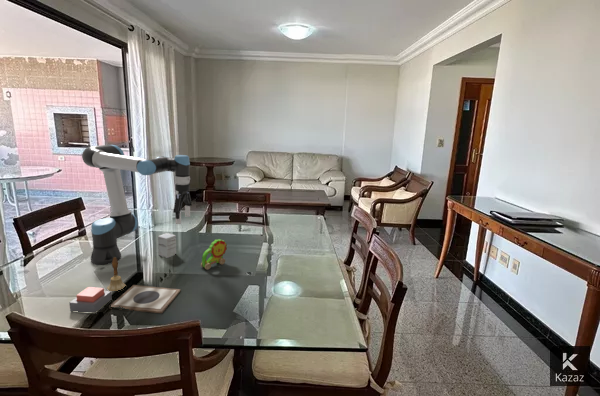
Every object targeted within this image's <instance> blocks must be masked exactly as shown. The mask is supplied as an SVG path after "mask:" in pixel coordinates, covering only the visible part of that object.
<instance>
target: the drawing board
mask: <svg viewBox="0 0 600 396" xmlns="http://www.w3.org/2000/svg"><path fill="white" fill-rule="evenodd" d="M181 290H182V289H179V288H169V287H158V286H147V285H139V284H138V285H136V284H132V286H131V287H129V288H128V289H127V290H125V292H124V293H122V294H121V295H120V296H119V297H118V298H116V300H114V301H112V303H111V304H110V305H111V307H119V306H120V307H121V308H122V307H123V308H125V309H129V310H128V311H133V310H134V311H135V312H142V313H144V312H145V313H156V314H163V313H164V312H165V310H166V309H167V308H168V307H169V306H170V304H172V302H173V301H174V299H176V297H177V296H178V295H179V294H180V292H182V291H181ZM168 305H169V306H168Z"/></svg>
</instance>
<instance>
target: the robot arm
mask: <svg viewBox="0 0 600 396" xmlns="http://www.w3.org/2000/svg"><path fill="white" fill-rule="evenodd" d="M81 159H82V161H83V163H84V164H85V165H86V166H89V167H91V168H98V170H99V171H101V173H103V178H104V183H105V187H106V192H107V196H108V201H109V206H110V210H111V213H110V214H109V217H104V218H100V219H97V220H95V221H93V222H92V223H91V228H90V229H91V230H90V231H91V232H90V233H91V239H92V248H93V250H92V252H91V256H90V263H91V264H93V265H96V266H106V265H112V261H113V258H114V257H116V258H117V260H118V262H119V261H120V260H121V259H122V253H121V251H120V249H119V247H118V241H117V239H119V238H122V237H123V236H126V235H129V234H131V233H132V232H134V231H135V230H137V228H138V226H139V225H138V224H139V222H138V217H136V216H135V214H134V213H132V211H131V210H130V209H129V208H128V202H127V199H126V194H125V189H124V184H123V179H122V173H121V170H122V171H127V172H133V173H134V172H135V173H139V174H140V175H142V176H151V175H155V174H159V173H164V172H170V173H171V172H173V173H174V182H175V186H174V189H175V191H176V192H178V193H177V194H175V200H174V206H173V211H172V212H173V213H175V214H174V216H175V225H182V212H181V210H182V206H183V203H184V204H185V205H184V217H186V218H190V217H191V206H193V205H192V203H193V201H192V199H191V198H192V197H191V194H190V189H191V185H190V180H191V176H190V175H191V174H190V169H191V168H190V167H191V162H190V156H189V155H186V154H176V155H175V156H174V157H168V156H167V157H166V156H156V157H155V158H151V159H150V158H142V157H136V156H129V155H125V153H124V151H123V149H121V147H119V146H118V145H116V144H101V145H91V146H88V147H86V148H85V149H84V150H83V151H82V156H81Z"/></svg>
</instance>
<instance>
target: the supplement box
mask: <svg viewBox="0 0 600 396" xmlns="http://www.w3.org/2000/svg"><path fill="white" fill-rule="evenodd" d="M157 238H158V239H157V240H158V241H157V242H158V243H157V244H158V245H157V246H158V255H159V256H161V257H163V258H166V259H168V258H171V257H173V256H176V255H177V235H176V234H173V233H169V232H166V233H162V234H160V235H157ZM175 254H176V255H175Z"/></svg>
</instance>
